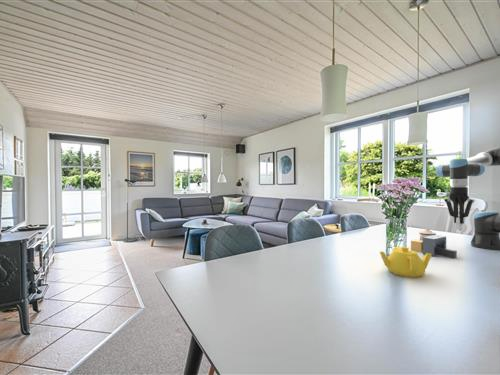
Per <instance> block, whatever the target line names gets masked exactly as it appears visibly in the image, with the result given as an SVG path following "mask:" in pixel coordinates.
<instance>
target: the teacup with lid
mask: <svg viewBox="0 0 500 375" xmlns="http://www.w3.org/2000/svg"><path fill="white" fill-rule="evenodd" d="M418 233H419V240H422V241H423V237H427V236H431V235H437V233H436V232H434V231H432V230H430V228H425V229H423V230H422V231H419V232H418Z"/></svg>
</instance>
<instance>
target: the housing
mask: <svg viewBox="0 0 500 375" xmlns="http://www.w3.org/2000/svg"><path fill="white" fill-rule="evenodd" d="M436 247H440V248H445V249H447V236H444V235H439V234H436V235H431V236H427V237H423V252H422V255H425V254H426V253H431V254H432V255H431V257H437V255H436Z"/></svg>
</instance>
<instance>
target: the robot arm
mask: <svg viewBox="0 0 500 375" xmlns="http://www.w3.org/2000/svg"><path fill="white" fill-rule="evenodd" d="M492 166H494V167H495V166H500V147H495V148H491V149H487V150H485V151H481V152H479V153H477V154H476V155H475V156H471V157H468V158H453V159H450V162H449V164H448V163H447V164H441V165H438V166H436V169H435V174H436V176H437V177H439V178H449V186H450V188H449V196H448V197H447V198H444V199H443V200H444V202H445V203H446V207H447V210H448V214H449V216H450V217H453V223H455V226H456V227H455V230H457V231H458V230H459V231H460V230H462V229H463V224H465V222H464V221H465V218H467V217H468V218H469V214H470V211H471V208H472V205H473V204H474V202H475V200H474V199H471V198H470V197H469V193H468V192H469V189H468V188H469V187H468V186H469V182H468V181H469V180H468V178H469V177H479V176H481V175H483V174H484V173H485V171H486V167H492ZM466 202H467V203H466ZM465 203H466V207H465ZM452 204H453V205H452ZM473 216H474V217H473V221H474V222H473V223H474V227H473V228H474V229H473V230H474V232H473V236H472V238H471V241H470V246H472V247H475V248H479V249H485V250H497V251H499V250H500V212H499V211H478V212H475V213H474V215H473Z"/></svg>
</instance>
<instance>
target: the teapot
mask: <svg viewBox="0 0 500 375" xmlns="http://www.w3.org/2000/svg"><path fill="white" fill-rule="evenodd" d="M379 254H380V257H381V260H382V261H383V263H384V266H385V267H386V268H387V270H388V271H389V272H390V273H391V274H394V275H396V276H400V277H406V278H420V277H422V276H423V275H424V274H425V273H426V269H427V267H428V265H429V262H430V260H431V258H432V256H431V255H432V254H431V253H426V254H424V256H423V257H422V258H421V257H420V256H419V254H418V252H417V251H413V250H411V249H410V248H409V247H407V246H394V249H393V251H391V253H390V254H389V256H387V255H386V253H385V251H379Z"/></svg>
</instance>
